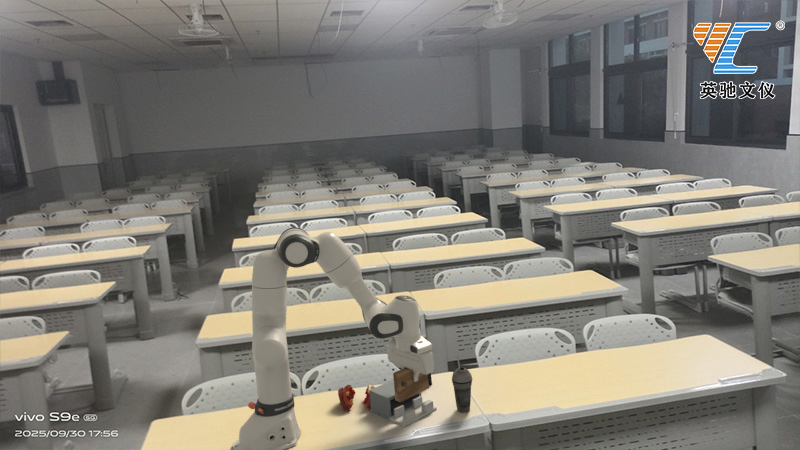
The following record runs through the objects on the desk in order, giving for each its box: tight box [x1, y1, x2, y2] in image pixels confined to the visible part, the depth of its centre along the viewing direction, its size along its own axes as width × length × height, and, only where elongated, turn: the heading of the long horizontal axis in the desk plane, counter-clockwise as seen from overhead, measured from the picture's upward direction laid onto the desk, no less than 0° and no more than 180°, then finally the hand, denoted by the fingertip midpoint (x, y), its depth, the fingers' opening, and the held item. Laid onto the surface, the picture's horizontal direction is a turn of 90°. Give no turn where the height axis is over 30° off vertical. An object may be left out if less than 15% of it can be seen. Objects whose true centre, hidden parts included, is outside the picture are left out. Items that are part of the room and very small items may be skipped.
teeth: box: [337, 384, 375, 412], centre depth 219 cm, size 10×8×15 cm
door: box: [392, 368, 430, 402], centre depth 207 cm, size 4×14×10 cm, turn 133°
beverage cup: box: [451, 355, 473, 414], centre depth 208 cm, size 7×7×20 cm
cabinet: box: [369, 378, 437, 427], centre depth 212 cm, size 16×18×8 cm
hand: (411, 379), depth 207 cm, fingers closed on door, 2 cm apart
